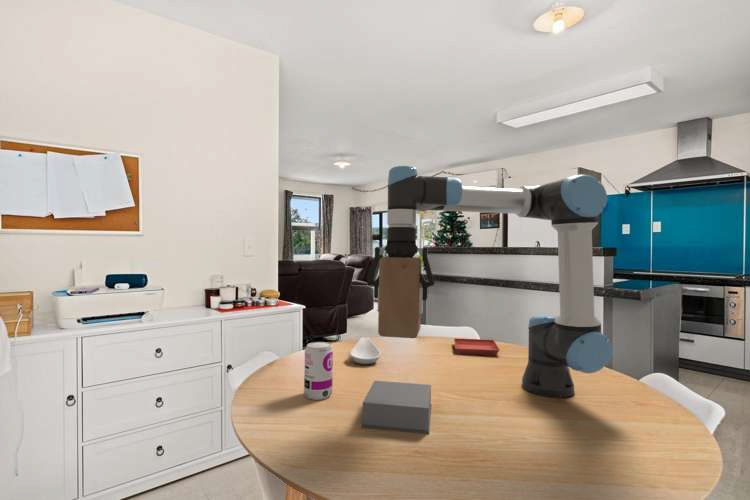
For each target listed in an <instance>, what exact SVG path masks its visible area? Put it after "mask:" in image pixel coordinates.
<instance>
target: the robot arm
mask: <svg viewBox="0 0 750 500" xmlns="http://www.w3.org/2000/svg"><path fill="white" fill-rule="evenodd" d="M387 179H388V180H387V211H386V213H387V217H386V221H387V222H386V224H387V225H388V226H389V227H387V230H386V245H385V246H376V247H374V258H373V261H372V264H371V268H370V269H369V274H368V277H367V280H366V281H367V283H368V284H370V285H372V286H373V297H374V299H377V312H378V313H379V275H378V276H377V277H376V279H375V276H376V274H377V271H378V268H379V261H380V259H381V258H382V257H381V256H383V255H384V252H385V253H386V254H387V255H388V257H400V258H413V257H415V255H416V254H417V253H418V254H419V256H420V257H422V258H421V259H422V261H423V264H424V266H423V267H424V270H425V272H426V276H427V279H428V281H426V279H425V277H424V275H423V274H422V271H421V272H420V283H421V287H420V290H419V314H421V315H422V314H423V311H424V308H423V306H424V301H427V300H428V288H430V287H432V286H434V285H435V280H434V276H433V275H434V274H433V272H432V268H431V264H430V260H429V258H428V253H429V250H428V248H427V247H418V245H417V229H416V227H415V226H416V225H417V211H419V212H426V211H444V212H445V211H446V212H467V213H468V212H470V213H491V214H493V213H494V214H513V215H516V216H518V217H519V218H529V219H535V220H536V219H539V220H545V221H550V222H551V227H552V228H553V229H554V230H556V232H557V251H558V258H557V259H558V285H559V286H558V287H559V291H558V292H559V315H536V316H535V315H533V316H531V317H530V318H529V319H528V320H529V321H528V326H527V327H528V350H527V351H528V361H527V363H526V366H525V369H524V372H523V375H522V379H521V386H522V388H523V389H525V390H526V391H527V392H528V391H529V393H530V392H531V393H532V394H533V393H534V394H536V395H540V396H544V397H550V398H566V397H571V396H573V395H574V394H575V384H574V380H573V378H572V374H571V371H570V368H571V370H573V371H577V372H580V373H583V374H594V373H597V372H599V371H601V370H602V369H604V367H605V366H607V364H609V361H610V360H611V357H612V354H613V353H612V352H613V348H612V343H611V341H610V339H609V338H608V337H607V336H606V335H605V334H603V333H602V322H601V321H600V320H599V319H598V318H597V317H596V315H595V293H594V264H593V263H594V262H593V261H594V260H593V234H592V233H593V231H592V230H593V229H594V228H596V226H598V224H599V219H598V216H599V215H600V214H601V213H602V212H603V211H604V209H605V208H606V206H607V203H608V194H607V191H606V190H607V189H606V188H605V186H604V185H603V183H601V181H599V180H598V178H597V177H594V176H593V175H589V174H578V175H576V174H575V175H570V176H568V177H565V178H562V179H557V180H555V181H551V182H547V183H543V184H539V185H532V186H528V185H527V186H526V185H524V186H520V187H519V188H503V187H502V188H500V187H498V188H497V187H480V186H479V187H477V186H463V184H462V183H463V182H462V181H461V180H460V178H457V177H450V176H428V175H425V176H423V175H419V174H418V169H417V167H415V166H410V165H397V166H393V167H391V168H390V169H389V170H388V178H387Z"/></svg>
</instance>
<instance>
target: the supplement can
mask: <svg viewBox="0 0 750 500" xmlns="http://www.w3.org/2000/svg"><path fill="white" fill-rule="evenodd" d="M333 360H334V350H333V347H332V344H331V343H330V342H325V341H314V342H313V341H312V342H310V343H307V344H306V347H305V349H304V370H303V371H304V374H303V375H304V378H303V379H304V383H303V384H304V385H303V390H304V392H303V394H304V396H305V397H306V398H307V399H309V400H313V401H320V400H325V399H328V398H330V396H331V395H332V393H333V375H334V374H333V370H334V368H333V365H334V361H333Z"/></svg>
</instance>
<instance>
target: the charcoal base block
mask: <svg viewBox="0 0 750 500" xmlns="http://www.w3.org/2000/svg"><path fill="white" fill-rule="evenodd" d="M431 402H432V384H423V383H421V384H420V383H411V382H401V381H400V382H398V381H397V382H395V381H386V380H373V383H372V384H371V386H370V388H369V390H368V392H367V394H366V395H365V397H364V399H363V401H362V417H361V418H362V420H361V421H362V423H361V427H360V428H365V429H375V430H386V431H387V430H388V431H396V432H405V433H406V432H407V433H416V434H418V433H419V434H426V435H429V434H430V428H431V427H430V426H431V414H432V403H431Z"/></svg>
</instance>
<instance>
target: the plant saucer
mask: <svg viewBox="0 0 750 500" xmlns="http://www.w3.org/2000/svg"><path fill="white" fill-rule="evenodd" d="M453 343H454V344H453V345H454V348H455V350H456V352H457V353H458V354H459V353H460V354H459V355H472V354H475V355H474V356H489V357H490V356H493V357H494V356H496V355H497V354H498V353H499V352H500V348H499V346H498V345H497V343H496V341H495V340H494V339H479V338H478V339H477V338H456V337H455V338H453Z"/></svg>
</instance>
